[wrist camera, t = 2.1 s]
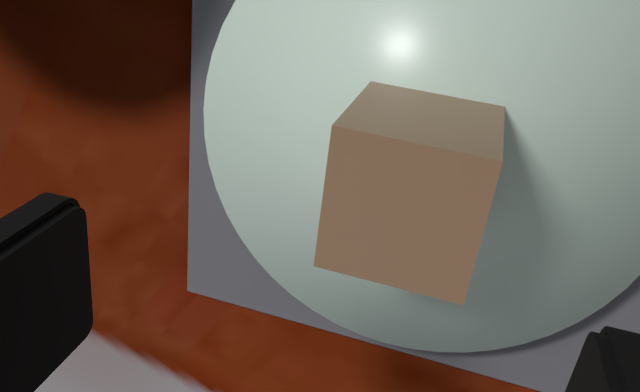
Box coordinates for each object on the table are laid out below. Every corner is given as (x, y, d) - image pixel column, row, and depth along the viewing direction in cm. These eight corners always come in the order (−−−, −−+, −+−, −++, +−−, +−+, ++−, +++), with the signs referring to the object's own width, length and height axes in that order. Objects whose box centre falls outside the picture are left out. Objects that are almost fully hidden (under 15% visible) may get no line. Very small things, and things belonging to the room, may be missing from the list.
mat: (847, -116, 14) (859, -118, 14) (612, 401, 22) (615, 412, 21) (204, -183, 18) (195, -186, 17) (193, 283, 25) (187, 290, 25)
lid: (791, -77, 15) (928, -76, 10) (594, 383, 21) (619, 517, 16) (224, -143, 18) (118, -167, 13) (209, 277, 24) (135, 365, 19)
